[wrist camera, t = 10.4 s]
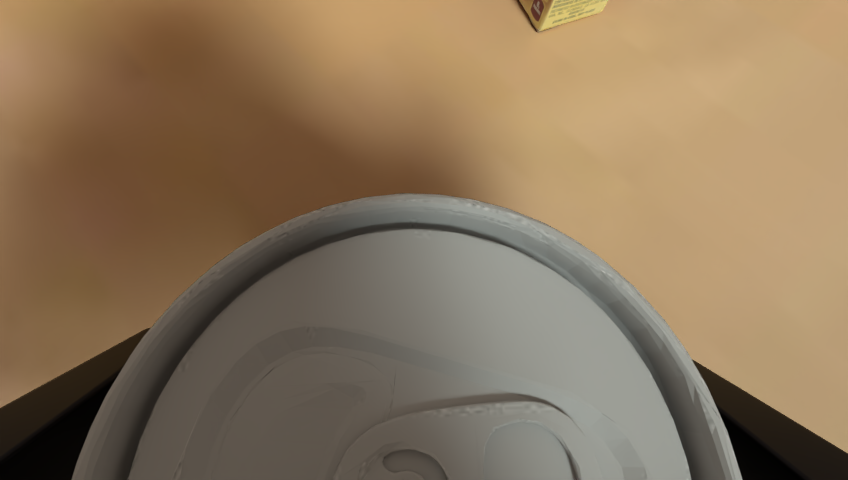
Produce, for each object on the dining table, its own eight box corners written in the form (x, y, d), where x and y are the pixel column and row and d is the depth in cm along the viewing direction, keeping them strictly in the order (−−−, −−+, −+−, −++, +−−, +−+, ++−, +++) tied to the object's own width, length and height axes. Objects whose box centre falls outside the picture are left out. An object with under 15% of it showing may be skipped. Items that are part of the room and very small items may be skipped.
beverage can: (312, 315, 16) (83, 154, 4) (487, 310, 16) (706, 152, 5) (304, 519, 14) (-174, 1250, 2) (504, 507, 14) (949, 1065, 3)
